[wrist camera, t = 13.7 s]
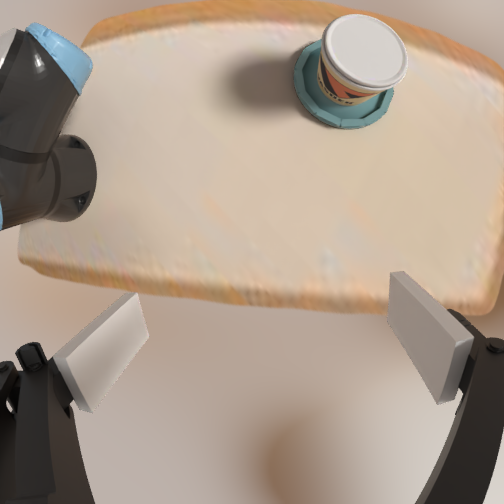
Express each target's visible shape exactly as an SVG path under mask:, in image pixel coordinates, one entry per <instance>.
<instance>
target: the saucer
mask: <svg viewBox="0 0 504 504" xmlns="http://www.w3.org/2000/svg"><path fill="white" fill-rule="evenodd" d="M320 52H321V39H320V40H319V41H317V42H315V43H313V44H311V45H309V46H308V47H306V48H305V49H304V50H303V52H302V54H301V55H300V56H299V58H298V60H297V62H296V65H295V68H294V86H295V90H296V93H297V96H298V98H299V99H300V101H301V103H302V104H303V106H304V107H305V108H306V109H307V110H308V111H309V112H310V113H311V114H312V115H313V116H314V117H316V118H317V119H318V120H320V121H322V122H324V123H325V124H328V125H330V126H333V127H337V128H342V129H358V128H363V127H366V126H368V125H370V124H372V123H374V122H376V121H377V120H378V119H380V118H381V117H382V116H383V115H384V114H385V113H386V112H387V110H388V107H389V104H390V102H391V99H392V97H393V94H394V93H393V92H394V90H393V87H392V88H390V89H387V90H385V91H383V92H381V93H379V94H377V95H376V96H374V97H372V98H370V99H368V100H366V101H365V102H363V103H361V104H358V105H355V106H343V105H339V104H337V103H335V102H333V101H331V100H330V99H328V98H327V97H326V96H325V95H324V94H323V92H322V91H321V89H320V87H319V85H318V81H317V72H318V65H319V58H320Z"/></svg>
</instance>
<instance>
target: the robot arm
mask: <svg viewBox="0 0 504 504" xmlns="http://www.w3.org/2000/svg"><path fill="white" fill-rule="evenodd" d="M92 68H93V64H92V60H91V59H90V57H89V56H88V55H87V54H86V53H85V52H84V51H82V50H81V49H80V48H78V47H77V46H76V45H74V44H73V43H71V42H70V41H69V40H67V39H65V38H64V37H62V36H61V35H59V34H57V33H56V32H52V30H50V29H48V28H46V27H45V26H43V25H41V24H38V23H32V24H31V25H29V26H28V27H27V28H26V29H25V32H23V31H21V30H18V29H15V28H13V29H11V30H9V31H7V32H5V33H3V34H1V35H0V231H1V230H4V229H7V228H10V227H13V226H16V225H20V224H23V223H26V222H29V221H33V220H36V219H39V218H46V219H50V220H55V221H59V222H68V221H72V220H75V219H76V218H78V217H80V216H81V215H82V214H83V213H84V212H85V211H86V209H87V208H88V206H89V205H90V203H91V201H92V198H93V195H94V192H95V188H96V180H97V170H96V163H95V159H94V155H93V153H92V151H91V149H90V147H89V146H88V144H87V143H86V142H85V141H84V140H83V139H81V138H80V137H78V136H75V135H62V136H59V134H60V132H61V130H62V127H63V125H64V123H65V121H66V119H67V117H68V115H69V113H70V111H71V110H72V108H73V106H74V104H75V102H76V100H77V98H78V97H79V96H80V95H81V94H82V89H83V87H84V85H85V83H86V81H87V79H88V77H89V76H90V74H91V72H92ZM58 136H59V137H58ZM387 322H388V324H389V325H390V327H391V328H392V330H393V331H394V333H395V335H396V336H397V338H398V339H399V341H400V342H401V344H402V346H403V347H404V349H405V350H406V352H407V354H408V356H409V357H410V359H411V360H412V362H413V364H414V365H415V367H416V369H417V370H418V372H419V374H420V375H421V377H422V379H423V380H424V382H425V384H426V386H427V387H428V389H429V391H430V393H431V395H432V396H433V398H434V400H435V401H436V403H437V405H439V404H442V403H445V402H449V401H451V400H454V399H455V396H456V394H457V391H458V388H460V390H461V391H462V393H463V396H462V399H461V401H460V404H459V406H458V408H457V411H456V413H455V415H456V416H455V419H454V422H453V425H452V427H451V430H450V433H449V435H448V437H447V440H446V442H445V445H444V447H443V450H442V452H441V454H440V456H439V459H438V461H437V463H436V465H435V467H434V469H433V471H432V473H431V475H430V477H429V479H428V481H427V483H426V485H425V487H424V489H423V491H422V492H421V494H420V496H419V498H418V499H417V501H416V503H415V504H483V501H484V499H485V495H486V493H487V490H488V487H489V484H490V481H491V478H492V475H493V471H494V468H495V464H496V460H497V456H498V452H499V447H500V443H501V439H502V434H503V429H504V340H502V339H499V338H486V337H485V336H483V335H482V334H481V333H480V332H479V331H478V330H477V329H476V328H475V327H474V326H473V325H471V323H470V322H469V321H468V320H466V318H465V317H463V316H462V315H461V314H460V313H458V312H456V311H454V310H452V309H447V310H446V309H445V308H444V307H443V306H442V305H441V304H440V303H439V302H438V301H437V300H435V299H434V298H433V297H432V296H431V295H430V294H429V293H428V292H427V291H426V290H424V289H423V288H422V287H421V286H420V285H419V284H418V283H417V282H415V281H414V280H413V279H412V278H411V277H410V276H409V275H407V274H406V273H405V272H404V271H400V272H392V273H390V287H389V304H388V317H387ZM148 338H149V333H148V330H147V327H146V323H145V320H144V316H143V312H142V308H141V305H140V301H139V297H138V293H137V292H134V293H125V294H124V295H123V296H121V297H120V298H119V299H118V300H117V301H115V302H114V303H113V304H112V305H111V306H110V307H108V308H107V309H106V310H105V311H104V312H103V313H101V314H100V315H99V316H98V317H97V318H95V319H94V320H93V321H92V322H91V323H90V324H89V325H87V326H86V327H85V328H84V329H83V330H82V331H80V332H79V333H78V334H77V335H76V336H75V337H74V338H72V339H71V340H70V341H69V342H68V343H67V344H66V345H65V346H64V347H63V348H61V349H60V350H59V351H58V352H57V353H56V354H55V355H54V356H53V357H52V358H51V359H50V360H48V361H47V359H46V356H45V354H44V352H43V349H42V347H41V345H40V343H38V342H32V343H28V344H25V345H23V346H21V347H20V348H19V349H18V350H17V351H16V353H15V354H16V356H17V358H18V360H19V362H20V365H21V367H22V368H23V371H17V369H16V367H15V365H14V363H13V362H12V361H5V362H4V361H3V362H1V363H0V504H95V502H94V499H93V495H92V492H91V489H90V486H89V482H88V479H87V475H86V471H85V468H84V463H83V459H82V455H81V451H80V446H79V441H78V437H77V431H76V425H75V419H74V413H73V409H72V407H71V406H70V403H71V402H72V401H73V399H74V401H75V402H76V404H77V406H78V408H79V410H83V411H87V412H91V413H93V412H94V410H95V409H96V408H97V406H98V405H99V404H100V402H101V401H102V399H103V398H104V397H105V395H106V394H107V393H108V391H109V390H110V389H111V387H112V386H113V384H114V383H115V382H116V380H117V379H118V378H119V376H120V375H121V374H122V372H123V371H124V370H125V368H126V367H127V366H128V364H129V363H130V362H131V360H132V359H133V358H134V356H135V355H136V354H137V352H138V351H139V350H140V348H141V347H142V346H143V344H144V343H145V342H146V340H147V339H148ZM6 401H8V402H9V404H10V406H11V407H12V409H13V410H12V412H10V411H9V410H8V408H7V406H6Z"/></svg>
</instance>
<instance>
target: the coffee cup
mask: <svg viewBox="0 0 504 504" xmlns="http://www.w3.org/2000/svg"><path fill="white" fill-rule="evenodd" d="M407 67H408V58H407V52H406V49H405V46H404V44H403V42H402V40H401V39H400V37H399V36H398V35H397V34H396V32H395V31H394V30H393V29H391V28H390V27H389V26H388V25H386V24H385V23H383V22H382V21H380V20H378V19H376V18H373V17H370V16H367V15H361V14H350V15H345V16H342V17H339V18H337V19H335V20H333V21H332V22H331V23H330V24H328V26H327V27H326V28H325V30H324V32H323V35H322V39H321V52H320V58H319V65H318V72H317V81H318V85H319V87H320V89H321V91H322V92H323V94H324V95H325V96H326V97H327V98H328V99H330V100H331V101H333V102H335V103H337V104H339V105H343V106H355V105H358V104H361V103H363V102H365V101H366V100H368V99H370V98H372V97H374V96H376V95H377V94H379V93H381V92H383V91H385V90H387V89H390V88H392V87H394V86H396V85H397V84H398V83H399V82H400V81H401V80H402V79H403V78H404V76H405V74H406V71H407Z"/></svg>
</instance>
